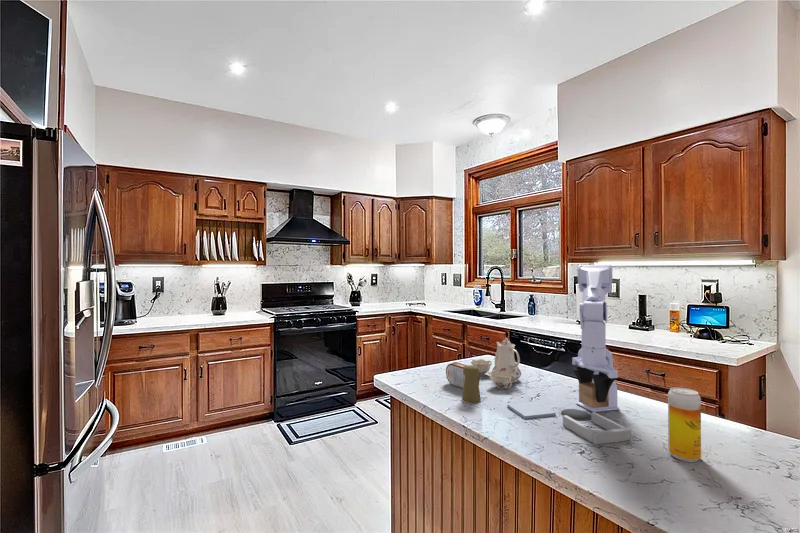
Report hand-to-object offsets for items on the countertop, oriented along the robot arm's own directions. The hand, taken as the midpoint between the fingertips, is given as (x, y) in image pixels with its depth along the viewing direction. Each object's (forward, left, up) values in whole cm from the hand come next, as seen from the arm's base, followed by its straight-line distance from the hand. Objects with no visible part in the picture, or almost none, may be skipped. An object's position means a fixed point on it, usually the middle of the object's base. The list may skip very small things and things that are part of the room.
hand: (593, 398), depth 105 cm
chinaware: (+2, -49, -9) cm, 50 cm away
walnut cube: (0, 0, -2) cm, 2 cm away
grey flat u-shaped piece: (0, 0, -9) cm, 9 cm away
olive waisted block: (+21, -31, -9) cm, 38 cm away
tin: (+19, -44, -9) cm, 49 cm away
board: (+8, -17, -9) cm, 21 cm away
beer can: (-10, +17, -9) cm, 22 cm away
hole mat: (-3, -11, -9) cm, 14 cm away
